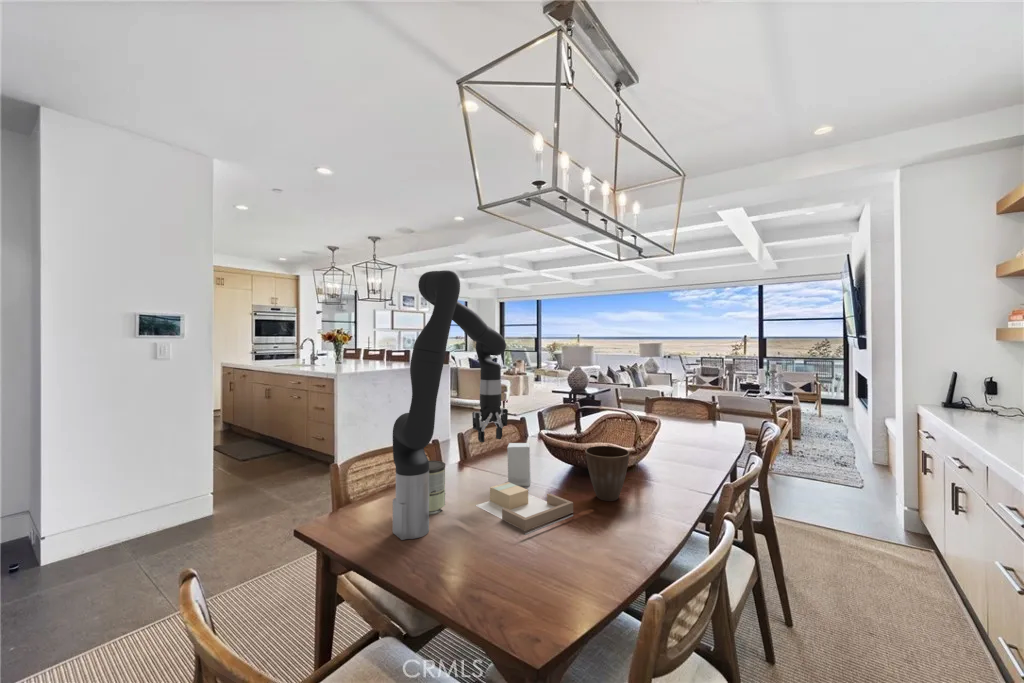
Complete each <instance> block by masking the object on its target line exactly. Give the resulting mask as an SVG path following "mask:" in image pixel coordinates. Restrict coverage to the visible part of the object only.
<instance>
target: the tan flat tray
mask: <svg viewBox="0 0 1024 683" xmlns="http://www.w3.org/2000/svg"><path fill="white" fill-rule="evenodd" d="M475 506H476V507H477V508H479V509H480V510H483V511H486V512H488V513H489V514H491V515H493V516H495V517H497V518H499V519H501V520H503V521H505V522H506V523H508V524H510V525H512V526H514V527H516V528H519V529H520V530H522V531H524V532H525V533H523V535H524V536H527V535H530V534H532V533H535V532H537V531H539V530H542V529H544V528H547V527H549V526H551V525H552V526H553V525H554V524H557V523H559V522H562V521H564V520H566V519H569V518H572V517H574V502H573V501H570V500H568V499H566V498H562V497H560V496H558V495H555V494H552V493H547V494H546V500H544V499H542V498H540V497H537V496H535V495H532V494H530V493H528V504H526V505H523V506H520V507H517V508H514V509H511V510H508V509H506V508H504V507H502V506H500V505H498V504H496V503H494V502H491V501H490V500H489V501H485V502H482V503H478V504H475ZM570 514H571V515H570ZM562 517H563V518H562ZM559 518H561V519H559ZM557 519H558V520H557ZM555 520H556V521H555ZM552 521H553V522H552ZM549 522H550V523H549ZM542 525H543V526H542ZM539 526H540V527H539ZM537 527H538V528H537ZM534 528H535V529H534ZM532 529H533V530H532ZM529 530H530V531H529ZM526 531H527V532H526Z"/></svg>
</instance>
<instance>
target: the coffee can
mask: <svg viewBox="0 0 1024 683" xmlns="http://www.w3.org/2000/svg"><path fill="white" fill-rule="evenodd" d="M445 505H446V463H445V462H443V461H441V460H429V516H430V515H436V514H439V513H441V512H443V509H441V508H443V507H445Z"/></svg>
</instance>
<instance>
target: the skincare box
mask: <svg viewBox="0 0 1024 683" xmlns="http://www.w3.org/2000/svg"><path fill="white" fill-rule="evenodd" d="M506 448H507V450H506V452H507V482H510V483H512V484H515V485H517V486H520V487H530V486H531V482H532V481H531V449H530V448H531V445H530V442H508V445H507V447H506Z"/></svg>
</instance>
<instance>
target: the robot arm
mask: <svg viewBox="0 0 1024 683" xmlns="http://www.w3.org/2000/svg"><path fill="white" fill-rule="evenodd" d="M418 291H419V293H420V295H421V296H422V298H423V299H424V300H425V301H427V302H428V303H429V304H431V305H432V306H433V309H432V313H431V316H430V318H429V319H428V321H427V323H426V324H425V326H424V327H423V329H422V330H421V331H420V332H419V335H418V336H417V338H416V339H415V342H414V345H413V348H412V352H411V356H410V357H411V359H410V363H409V372H410V373H409V374H410V383H411V402H410V405H409V412H405V413H402V414H401V415H399V417H397V419H395V421H394V424H393V427H392V458H393V462H394V466H395V497H394V498H393V499H392V534H394V535H395V536H396V537H397V538H398V539H400V540H401V541H404V540H414V539H418V538H422V537H424V536H426V535H427V534H428V533H429V531H430V515H429V461H430V460H429V458H428V457H427V455H426V452H425V447H427V446H428V445H429V444H430V442H431V440H432V439H433V435H434V432H435V425H436V424H435V422H436V421H435V420H436V410H437V399H438V395H439V388H440V384H441V379H442V378H441V377H442V373H443V368H444V363H445V358H446V354H447V353H446V352H447V345H448V340H449V335H450V330H451V325H452V321H453V322H454V323H455V324H456V325H457V326H458V327H460V329H461V330H462V331H463V332H464V333H465V334H466V335H467V337H469V339H471V340H472V341H473V342H476V343H475V351H476V356H477V360H478V363H479V368H480V382H479V407H480V410H479V411H473V412H472V415H471V416H472V429H473V430H474V431H477V441H478V442H480V443H485V436H486V435H485V429H486V427H487V426H488V425H489V423H494V425H495V426H496V428H495V438H496V440H502V438H503V429H504V427H507V426H508V420H509V419H508V416H509V410H508V409H507V408H503V407H501V406H502V380H501V379H502V375H501V373H502V371H501V370H502V368H501V364H500V363H498V362H496V361H493V359H492V356H501V355H503V354H504V353H505V351H506V350H507V349H506V348H507V344H506V340H505V338H504V337H503V336H502V334H501V333H499V332H498V331H497V330H495V329H494V328H492V327H490V326H488V325H487V322H486V321H484V320H483V319H482V318H481V316H480V315H479V314H478V313H477V312H476V311H474V310H473V309H471V308H469V307H468V306H466V305H464V304H463V303H461V301H459V297H460V292H461V281H460V277H459V276H458V274H457V273H456V272H455V271H454V270H449V269H448V270H446V269H445V270H431V271H426V272H425V273H423V274H422V275H421V276H420V278H419V280H418Z"/></svg>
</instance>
